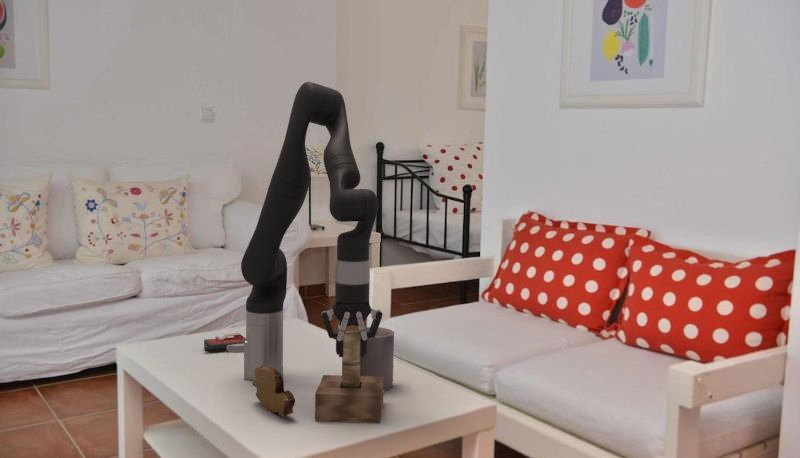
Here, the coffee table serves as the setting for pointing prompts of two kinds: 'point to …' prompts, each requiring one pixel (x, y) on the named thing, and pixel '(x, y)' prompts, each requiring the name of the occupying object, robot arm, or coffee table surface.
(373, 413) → the socket block
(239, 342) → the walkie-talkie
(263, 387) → the wooden carving
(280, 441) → the coffee table surface
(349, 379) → the peg
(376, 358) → the pillar candle
